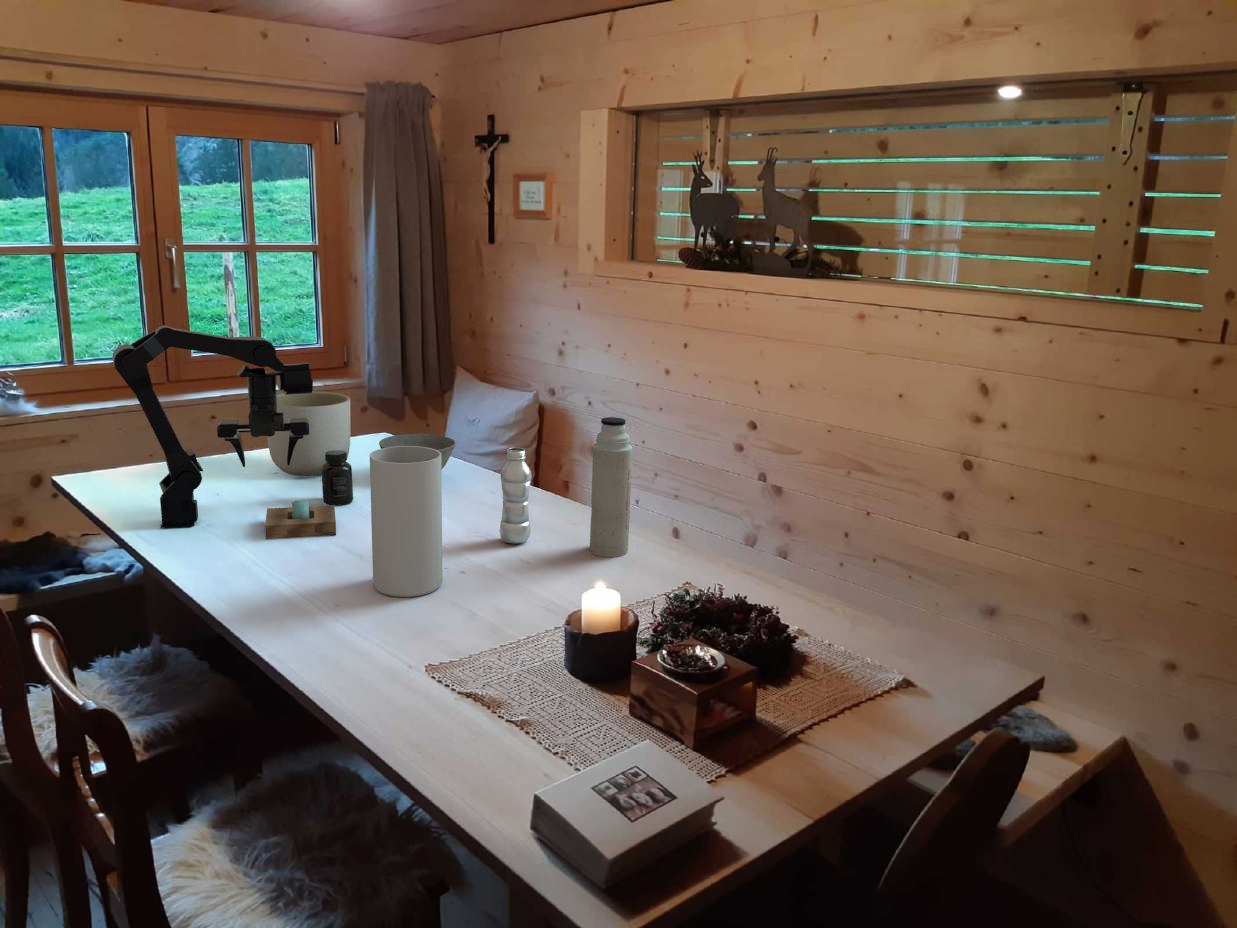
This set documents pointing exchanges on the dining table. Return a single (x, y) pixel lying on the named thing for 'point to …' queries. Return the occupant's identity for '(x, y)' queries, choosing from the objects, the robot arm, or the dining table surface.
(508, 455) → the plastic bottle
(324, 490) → the supplement bottle
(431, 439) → the bowl
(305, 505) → the pin
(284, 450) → the planter
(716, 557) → the dining table surface
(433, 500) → the cylinder vase
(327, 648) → the dining table surface
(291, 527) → the bore block
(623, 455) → the thermos bottle
